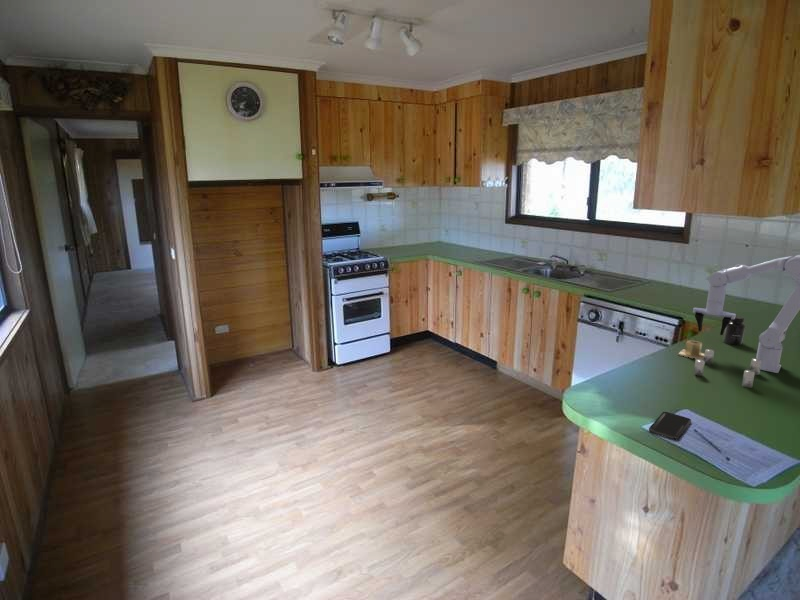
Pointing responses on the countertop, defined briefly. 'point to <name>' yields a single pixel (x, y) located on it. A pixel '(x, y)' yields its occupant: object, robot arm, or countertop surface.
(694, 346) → the brass nut
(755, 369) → the steel spacers
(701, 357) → the oak pad
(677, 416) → the phone
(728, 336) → the supplement bottle
